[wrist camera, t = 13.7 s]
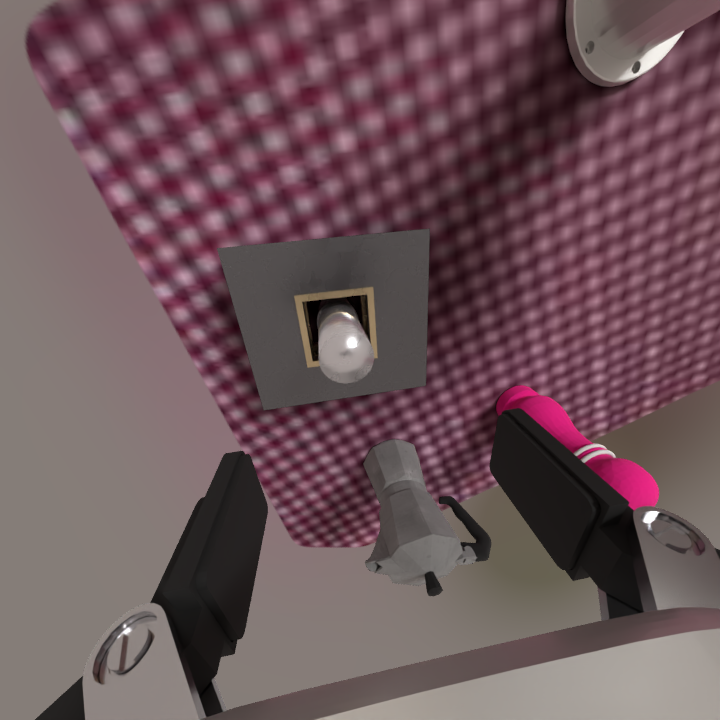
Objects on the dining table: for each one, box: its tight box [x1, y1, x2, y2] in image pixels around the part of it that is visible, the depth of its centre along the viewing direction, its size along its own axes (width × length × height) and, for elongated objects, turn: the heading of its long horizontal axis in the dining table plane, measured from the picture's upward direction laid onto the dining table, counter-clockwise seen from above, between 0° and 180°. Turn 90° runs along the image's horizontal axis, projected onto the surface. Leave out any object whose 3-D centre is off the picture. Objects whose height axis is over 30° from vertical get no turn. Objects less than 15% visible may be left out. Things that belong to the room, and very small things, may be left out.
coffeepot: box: [363, 439, 491, 596], centre depth 35 cm, size 15×9×18 cm, turn 87°
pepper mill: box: [496, 385, 659, 511], centre depth 33 cm, size 7×7×20 cm
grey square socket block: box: [217, 229, 430, 410], centre depth 29 cm, size 18×16×7 cm
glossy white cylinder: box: [317, 297, 374, 383], centre depth 25 cm, size 4×4×14 cm
